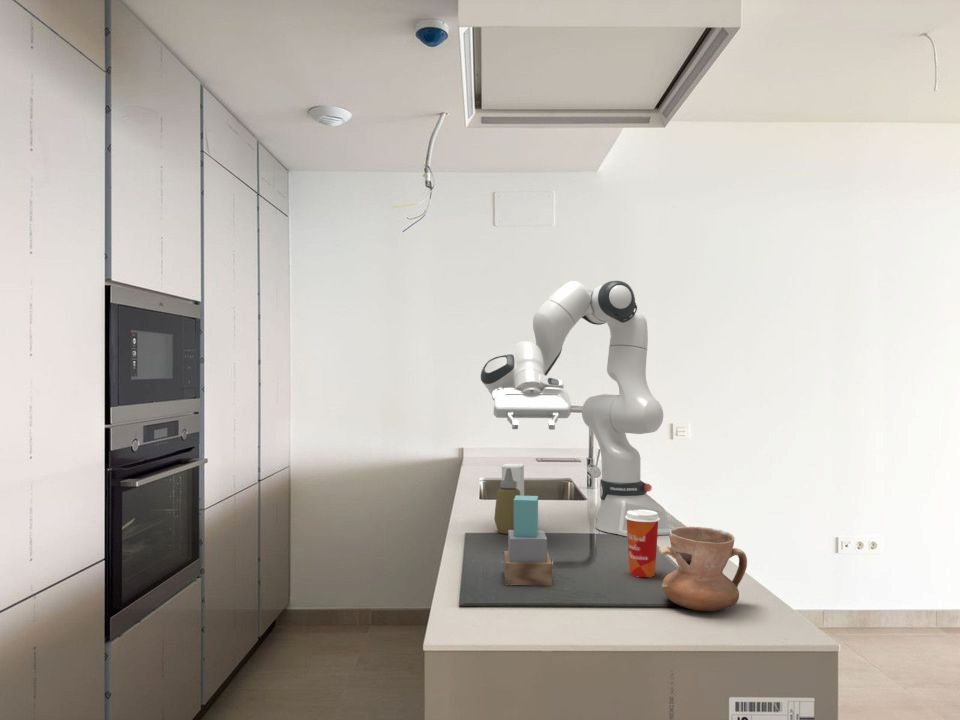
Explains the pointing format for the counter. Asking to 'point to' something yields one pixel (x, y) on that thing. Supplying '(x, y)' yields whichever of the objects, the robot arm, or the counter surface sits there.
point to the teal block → (525, 516)
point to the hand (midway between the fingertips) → (533, 427)
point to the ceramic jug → (702, 569)
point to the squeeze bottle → (506, 503)
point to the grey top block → (527, 548)
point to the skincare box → (515, 475)
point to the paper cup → (642, 541)
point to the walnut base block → (527, 572)
